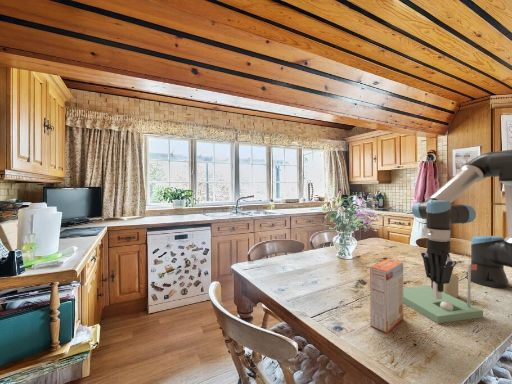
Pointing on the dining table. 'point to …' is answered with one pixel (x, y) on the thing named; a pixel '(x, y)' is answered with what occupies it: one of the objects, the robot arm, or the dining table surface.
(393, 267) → the cracker box
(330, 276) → the dining table surface
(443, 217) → the robot arm
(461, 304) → the green
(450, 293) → the candle
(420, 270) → the dining table surface
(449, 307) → the ball
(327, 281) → the dining table surface
